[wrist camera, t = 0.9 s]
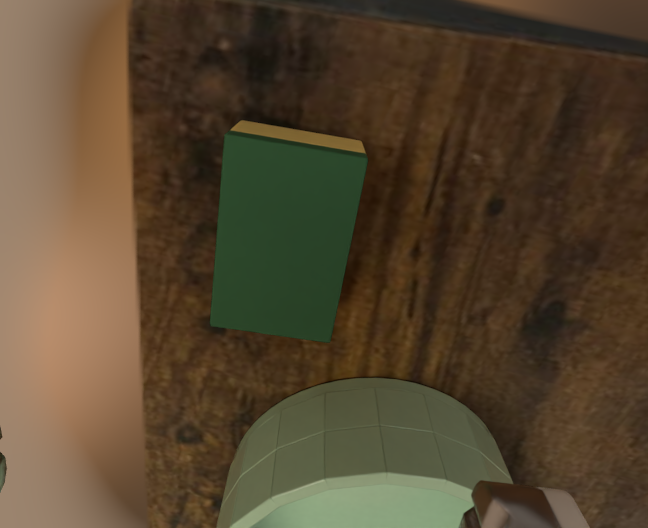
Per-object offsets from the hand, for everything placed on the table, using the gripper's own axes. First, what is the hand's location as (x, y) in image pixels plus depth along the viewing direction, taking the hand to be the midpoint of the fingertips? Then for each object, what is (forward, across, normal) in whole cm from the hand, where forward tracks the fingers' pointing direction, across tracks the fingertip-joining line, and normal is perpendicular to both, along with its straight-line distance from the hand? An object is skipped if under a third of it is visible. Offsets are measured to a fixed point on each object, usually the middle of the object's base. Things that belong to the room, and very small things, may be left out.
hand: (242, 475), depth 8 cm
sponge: (+12, 0, -1) cm, 12 cm away
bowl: (+12, -6, +13) cm, 19 cm away
